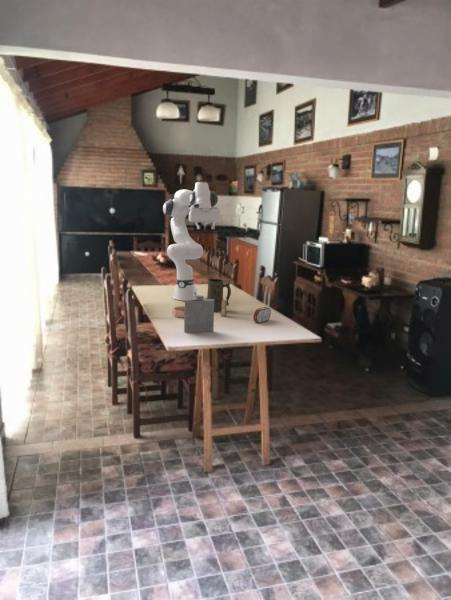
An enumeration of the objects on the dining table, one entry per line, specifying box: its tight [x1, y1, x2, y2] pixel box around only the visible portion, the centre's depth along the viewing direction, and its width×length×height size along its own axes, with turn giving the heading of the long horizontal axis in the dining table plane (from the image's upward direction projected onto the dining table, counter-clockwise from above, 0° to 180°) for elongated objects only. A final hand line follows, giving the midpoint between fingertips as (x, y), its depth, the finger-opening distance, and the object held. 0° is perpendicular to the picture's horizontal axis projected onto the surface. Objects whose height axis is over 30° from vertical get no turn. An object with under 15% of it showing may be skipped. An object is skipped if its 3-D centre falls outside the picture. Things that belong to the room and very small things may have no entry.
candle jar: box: [171, 305, 185, 319], centre depth 304 cm, size 13×13×4 cm
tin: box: [252, 306, 272, 324], centre depth 294 cm, size 15×3×8 cm, turn 141°
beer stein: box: [206, 278, 232, 313], centre depth 319 cm, size 15×11×20 cm
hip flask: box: [183, 294, 215, 334], centre depth 266 cm, size 16×4×20 cm, turn 103°
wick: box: [220, 298, 228, 318], centre depth 304 cm, size 4×2×10 cm, turn 164°
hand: (205, 228), depth 306 cm, fingers open, 8 cm apart
